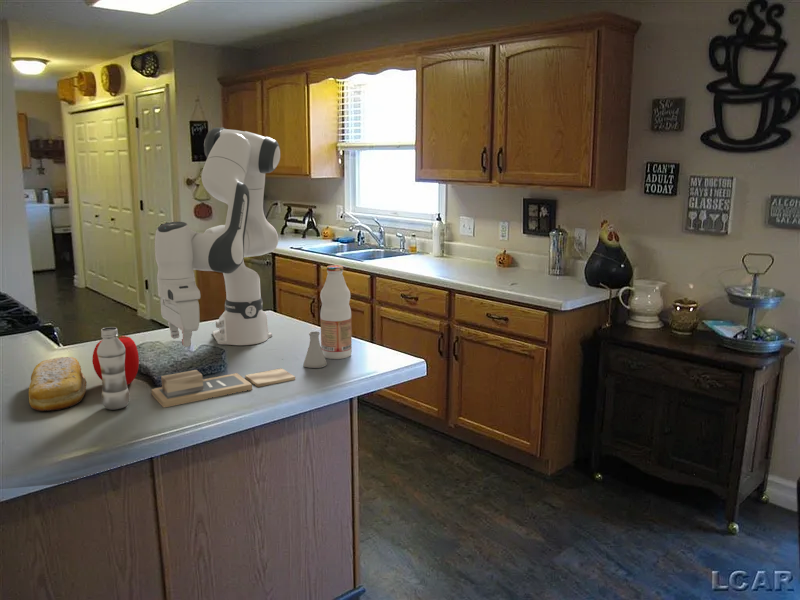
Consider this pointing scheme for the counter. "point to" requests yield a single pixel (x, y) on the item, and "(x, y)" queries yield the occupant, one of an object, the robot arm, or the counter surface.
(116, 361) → the plastic bottle
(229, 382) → the chalkboard
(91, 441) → the counter surface
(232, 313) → the robot arm
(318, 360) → the flask
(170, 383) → the block
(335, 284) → the fruit juice
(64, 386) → the bread
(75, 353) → the counter surface
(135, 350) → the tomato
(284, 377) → the pad
